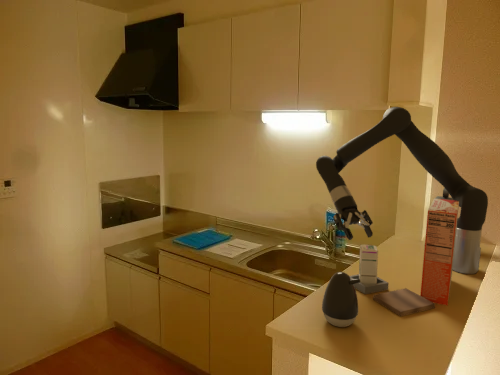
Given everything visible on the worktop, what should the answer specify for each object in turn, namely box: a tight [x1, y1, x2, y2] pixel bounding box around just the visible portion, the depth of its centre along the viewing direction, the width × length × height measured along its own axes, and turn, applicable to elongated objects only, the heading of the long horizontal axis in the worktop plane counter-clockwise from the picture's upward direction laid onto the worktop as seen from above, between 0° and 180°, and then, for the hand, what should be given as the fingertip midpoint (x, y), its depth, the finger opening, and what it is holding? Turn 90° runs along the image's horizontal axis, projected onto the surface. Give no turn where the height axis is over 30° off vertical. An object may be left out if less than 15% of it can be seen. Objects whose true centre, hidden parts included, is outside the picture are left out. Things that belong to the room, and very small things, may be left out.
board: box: [372, 287, 436, 317], centre depth 122 cm, size 14×12×2 cm
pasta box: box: [419, 197, 460, 306], centre depth 130 cm, size 23×8×30 cm, turn 150°
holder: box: [349, 273, 389, 295], centre depth 134 cm, size 10×10×2 cm
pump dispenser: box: [321, 271, 360, 328], centre depth 109 cm, size 10×10×15 cm
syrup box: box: [358, 244, 379, 286], centre depth 133 cm, size 6×6×14 cm
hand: (361, 237), depth 136 cm, fingers open, 8 cm apart
